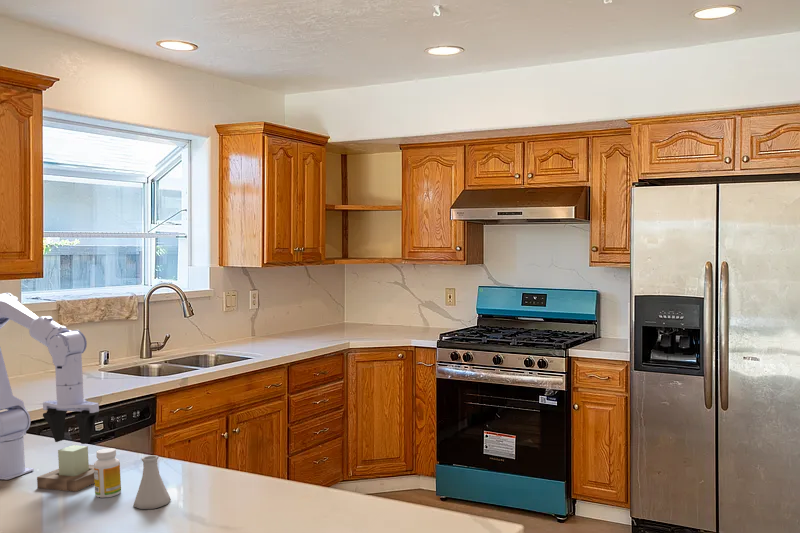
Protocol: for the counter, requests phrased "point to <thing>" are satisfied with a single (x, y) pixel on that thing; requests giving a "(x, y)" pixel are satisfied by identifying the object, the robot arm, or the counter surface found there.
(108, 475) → the supplement bottle
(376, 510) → the counter surface
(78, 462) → the peg
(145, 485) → the flask
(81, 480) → the socket
